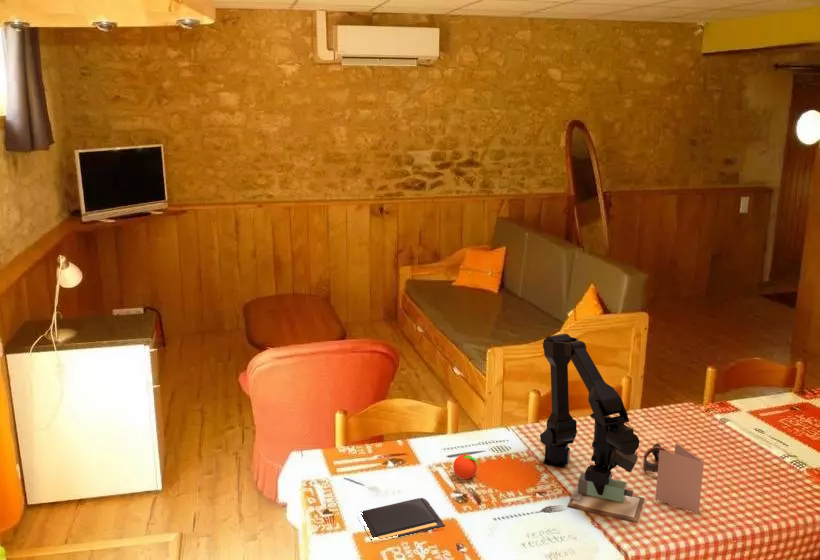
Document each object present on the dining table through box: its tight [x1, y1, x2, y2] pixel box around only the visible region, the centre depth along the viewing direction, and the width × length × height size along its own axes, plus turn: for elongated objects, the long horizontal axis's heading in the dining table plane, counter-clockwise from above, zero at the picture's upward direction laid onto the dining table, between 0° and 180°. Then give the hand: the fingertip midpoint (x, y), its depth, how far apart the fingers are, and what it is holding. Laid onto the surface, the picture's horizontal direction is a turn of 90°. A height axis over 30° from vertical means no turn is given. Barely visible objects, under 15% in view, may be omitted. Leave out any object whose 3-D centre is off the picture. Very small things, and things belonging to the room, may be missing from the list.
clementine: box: [452, 453, 481, 480], centre depth 205 cm, size 8×7×7 cm
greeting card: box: [655, 442, 705, 515], centre depth 189 cm, size 11×7×15 cm, turn 17°
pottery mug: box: [642, 443, 672, 473], centre depth 209 cm, size 12×10×8 cm
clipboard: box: [567, 483, 645, 524], centre depth 192 cm, size 18×12×1 cm, turn 64°
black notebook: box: [361, 497, 446, 539], centre depth 186 cm, size 20×2×15 cm
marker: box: [577, 471, 634, 503], centre depth 193 cm, size 14×4×4 cm, turn 64°
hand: (602, 491), depth 194 cm, fingers closed on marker, 4 cm apart
